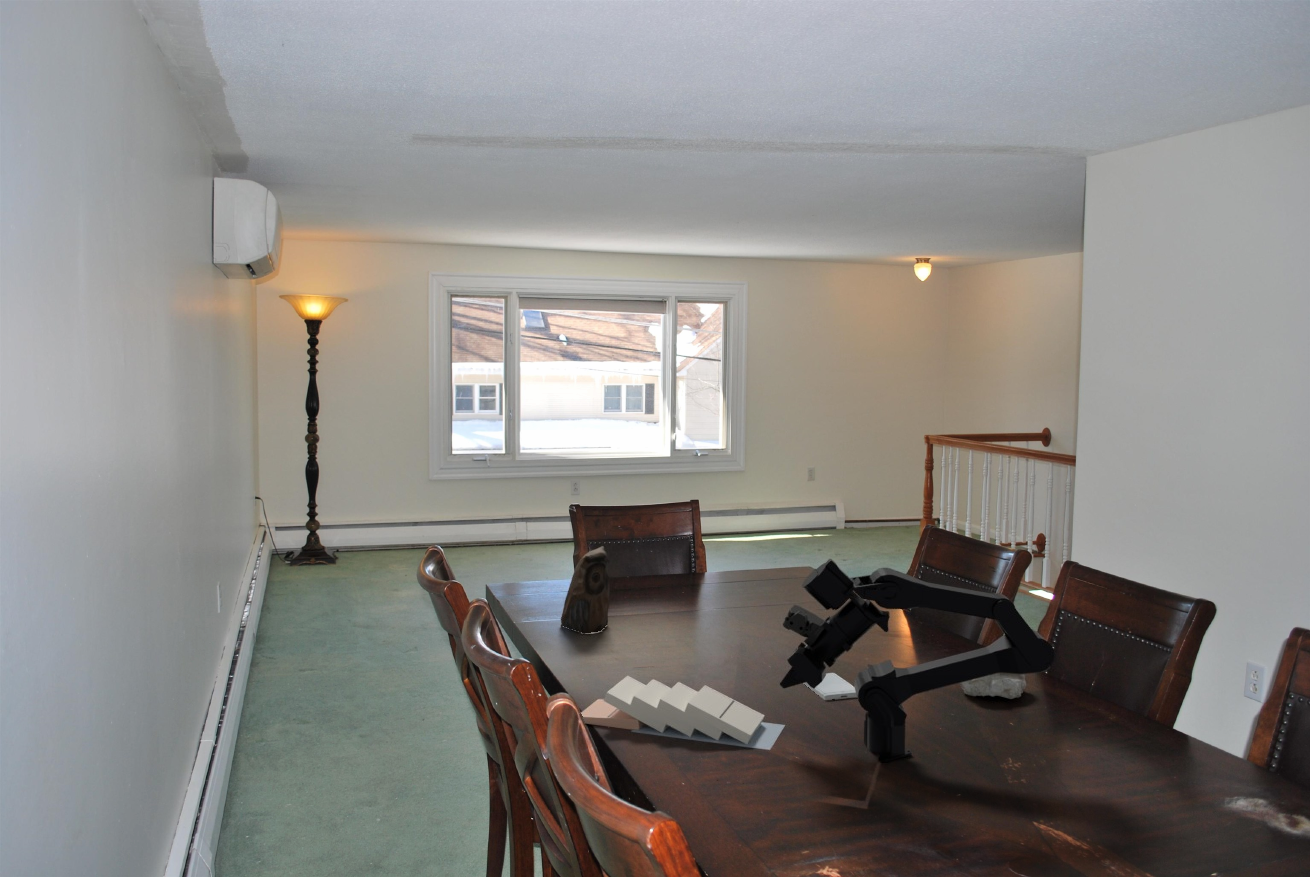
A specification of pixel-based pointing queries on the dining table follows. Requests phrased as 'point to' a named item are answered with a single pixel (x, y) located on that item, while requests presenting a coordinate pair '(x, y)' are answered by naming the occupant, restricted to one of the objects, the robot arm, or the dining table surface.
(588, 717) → the domino
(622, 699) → the domino
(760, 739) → the board
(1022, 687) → the rock
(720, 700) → the domino
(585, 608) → the owl
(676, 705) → the domino
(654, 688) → the domino
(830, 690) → the hard drive
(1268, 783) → the dining table surface
